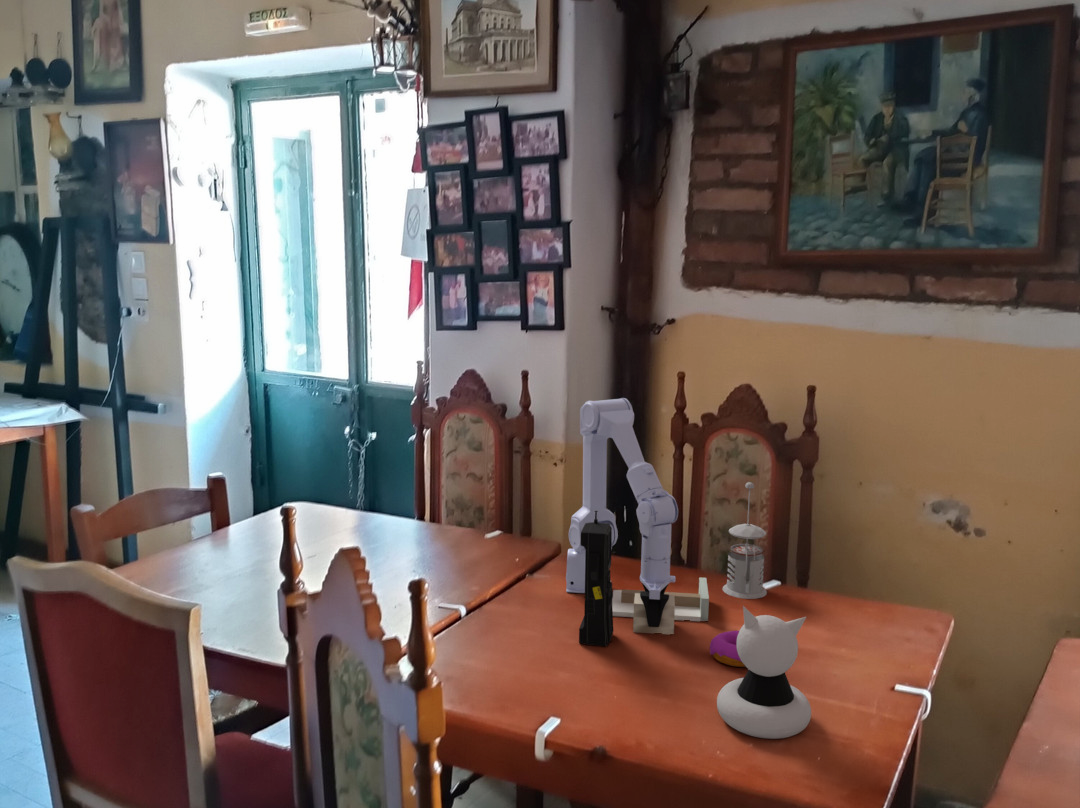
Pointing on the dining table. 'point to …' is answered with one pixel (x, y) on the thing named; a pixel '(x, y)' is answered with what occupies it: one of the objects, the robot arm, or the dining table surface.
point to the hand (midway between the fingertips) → (653, 620)
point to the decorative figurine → (765, 681)
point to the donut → (726, 649)
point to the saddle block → (666, 619)
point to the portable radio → (597, 584)
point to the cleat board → (630, 609)
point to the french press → (746, 562)
